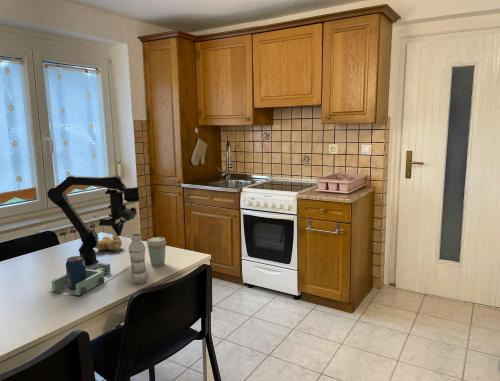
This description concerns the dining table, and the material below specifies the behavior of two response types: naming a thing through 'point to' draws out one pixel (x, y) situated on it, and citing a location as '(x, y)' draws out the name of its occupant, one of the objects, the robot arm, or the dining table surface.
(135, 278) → the plastic bottle
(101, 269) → the cart
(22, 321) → the dining table surface
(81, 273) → the soda can
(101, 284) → the rails
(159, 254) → the coffee cup
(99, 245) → the ginger root
